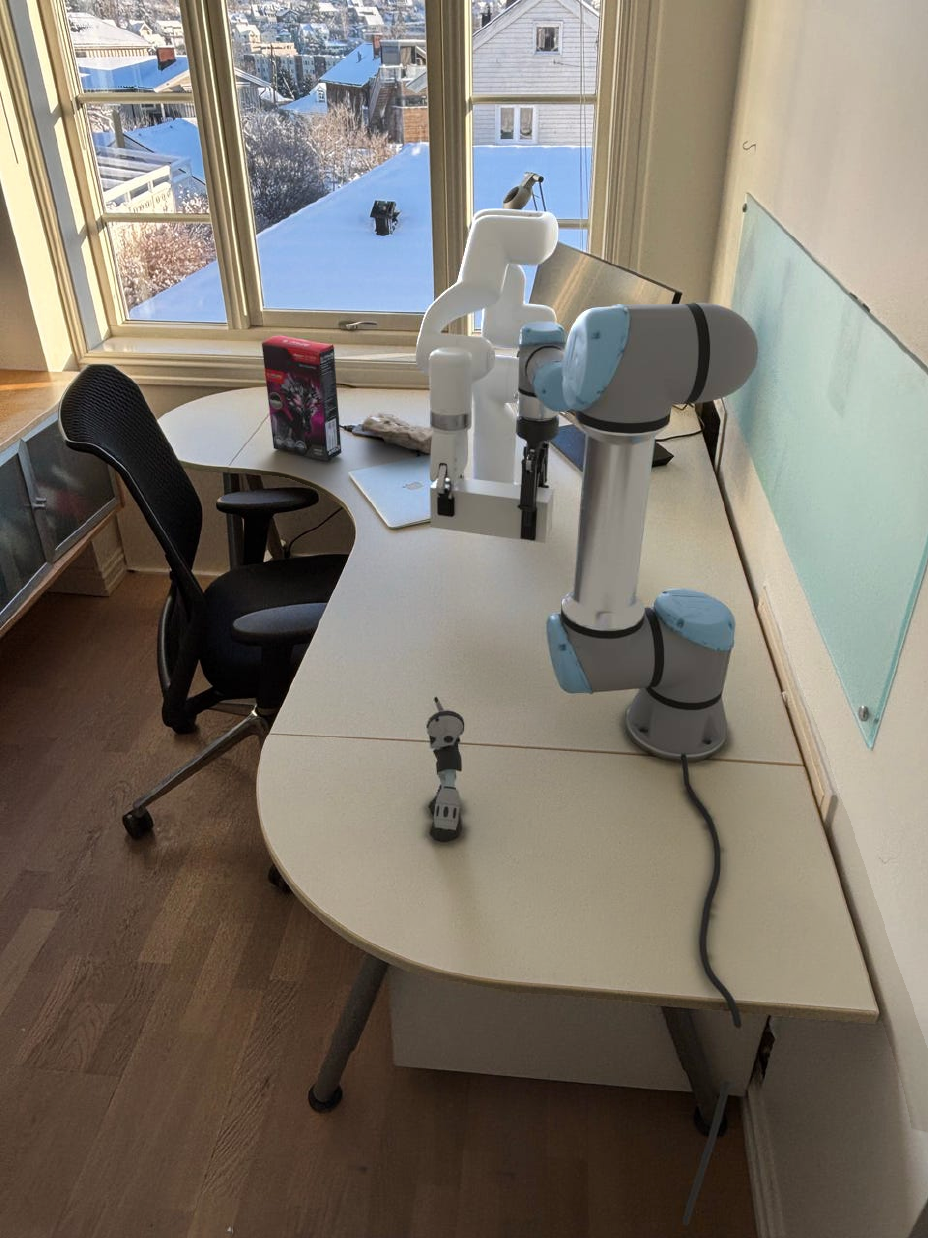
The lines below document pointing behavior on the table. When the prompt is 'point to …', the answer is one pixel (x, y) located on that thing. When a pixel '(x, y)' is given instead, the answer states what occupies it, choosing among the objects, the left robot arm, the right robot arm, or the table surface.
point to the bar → (491, 509)
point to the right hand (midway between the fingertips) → (531, 530)
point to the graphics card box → (302, 396)
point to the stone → (399, 432)
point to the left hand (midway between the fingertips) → (450, 506)
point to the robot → (446, 772)
